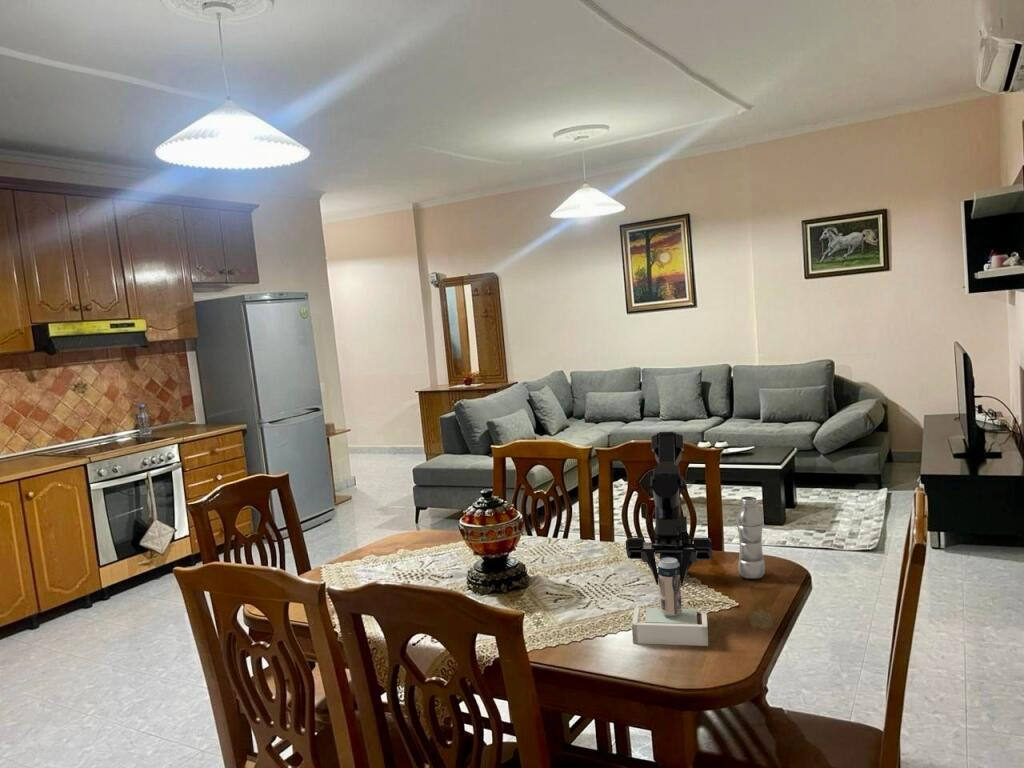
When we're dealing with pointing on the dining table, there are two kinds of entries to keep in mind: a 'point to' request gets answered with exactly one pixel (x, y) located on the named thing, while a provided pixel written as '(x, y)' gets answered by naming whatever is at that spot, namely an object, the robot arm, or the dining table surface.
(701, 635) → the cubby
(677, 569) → the pill bottle
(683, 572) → the robot arm
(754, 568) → the plastic bottle
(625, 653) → the dining table surface
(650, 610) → the mat
